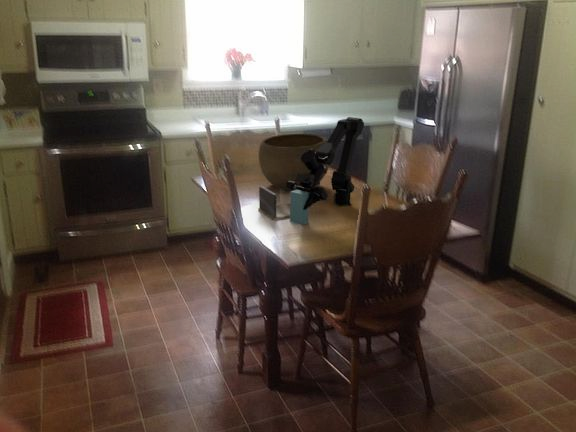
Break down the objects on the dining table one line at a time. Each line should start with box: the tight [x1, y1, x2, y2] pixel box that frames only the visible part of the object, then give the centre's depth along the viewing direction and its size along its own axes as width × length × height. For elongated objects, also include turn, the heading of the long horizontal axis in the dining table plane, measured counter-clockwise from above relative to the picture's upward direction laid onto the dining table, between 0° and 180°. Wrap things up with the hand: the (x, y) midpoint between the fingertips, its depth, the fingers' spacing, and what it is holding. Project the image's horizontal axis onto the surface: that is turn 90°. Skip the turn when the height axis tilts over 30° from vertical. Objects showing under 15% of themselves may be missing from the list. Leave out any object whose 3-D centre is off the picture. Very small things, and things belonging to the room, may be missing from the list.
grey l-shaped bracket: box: [257, 185, 290, 221], centre depth 237 cm, size 16×14×11 cm
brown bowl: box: [258, 133, 330, 192], centre depth 274 cm, size 35×35×25 cm
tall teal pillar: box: [289, 189, 310, 226], centre depth 226 cm, size 4×6×13 cm, turn 51°
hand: (297, 207), depth 225 cm, fingers closed on tall teal pillar, 6 cm apart
